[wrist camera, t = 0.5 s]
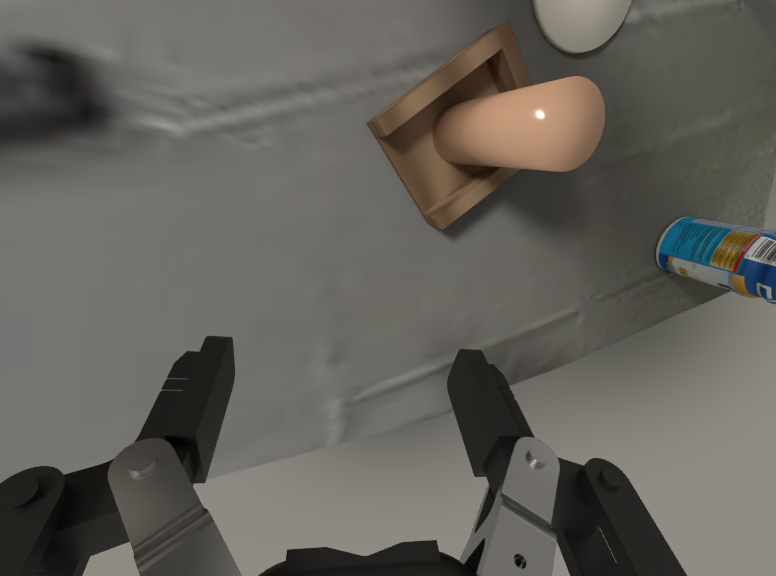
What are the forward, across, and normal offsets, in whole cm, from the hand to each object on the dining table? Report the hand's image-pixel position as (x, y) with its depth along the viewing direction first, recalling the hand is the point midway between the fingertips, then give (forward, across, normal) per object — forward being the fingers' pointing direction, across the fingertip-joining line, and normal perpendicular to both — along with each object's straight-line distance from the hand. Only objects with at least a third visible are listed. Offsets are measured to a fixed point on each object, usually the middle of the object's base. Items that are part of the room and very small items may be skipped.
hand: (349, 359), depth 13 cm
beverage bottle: (+33, -50, +7) cm, 60 cm away
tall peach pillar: (+29, -12, -4) cm, 31 cm away
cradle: (+29, -11, -3) cm, 31 cm away
